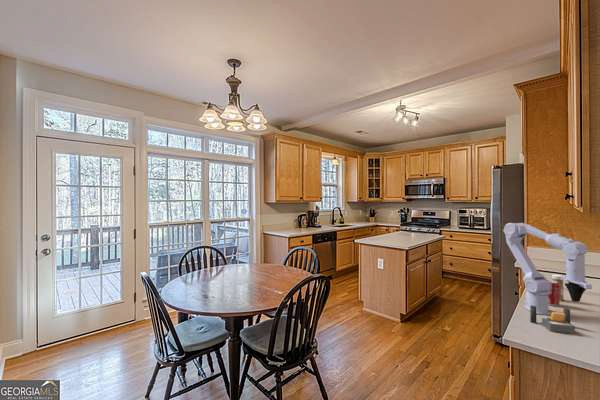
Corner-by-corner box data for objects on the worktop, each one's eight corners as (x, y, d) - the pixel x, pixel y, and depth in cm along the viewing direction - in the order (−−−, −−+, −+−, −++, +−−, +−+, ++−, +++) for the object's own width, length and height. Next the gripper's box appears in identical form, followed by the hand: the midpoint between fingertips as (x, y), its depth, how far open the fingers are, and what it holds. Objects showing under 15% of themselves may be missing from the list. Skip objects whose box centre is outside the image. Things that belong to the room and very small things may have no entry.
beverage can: (542, 301, 147) (542, 279, 148) (558, 304, 143) (558, 281, 144) (543, 304, 142) (543, 281, 143) (560, 307, 138) (559, 283, 139)
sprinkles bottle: (566, 301, 148) (565, 276, 148) (556, 301, 148) (556, 276, 149) (559, 298, 152) (559, 274, 152) (550, 298, 153) (550, 274, 153)
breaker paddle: (549, 318, 116) (551, 311, 114) (561, 319, 114) (563, 312, 113) (551, 320, 114) (553, 313, 113) (563, 321, 113) (565, 315, 112)
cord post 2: (562, 324, 118) (562, 308, 119) (568, 325, 118) (568, 308, 118) (565, 326, 116) (565, 309, 117) (571, 327, 116) (571, 310, 116)
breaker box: (542, 325, 118) (542, 315, 118) (565, 327, 115) (565, 318, 115) (550, 331, 112) (550, 321, 112) (574, 334, 110) (574, 324, 110)
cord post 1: (529, 321, 122) (529, 305, 122) (534, 321, 121) (534, 305, 121) (531, 322, 120) (531, 306, 120) (537, 323, 119) (537, 307, 119)
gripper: (553, 265, 127) (553, 295, 127) (577, 273, 113) (577, 306, 113) (571, 266, 126) (571, 296, 126) (597, 274, 112) (598, 307, 112)
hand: (575, 301), depth 119 cm, fingers closed
